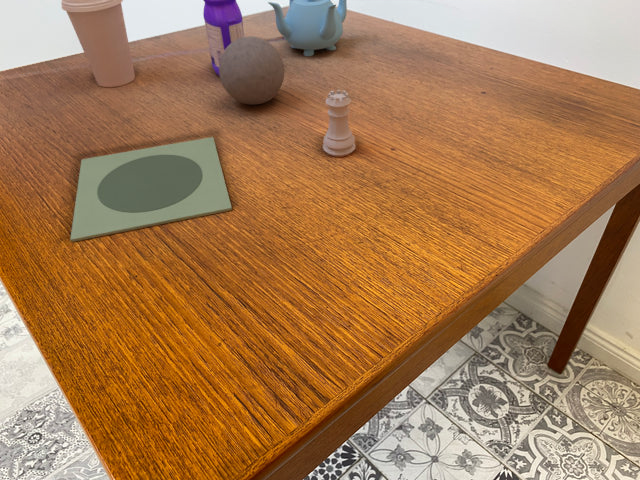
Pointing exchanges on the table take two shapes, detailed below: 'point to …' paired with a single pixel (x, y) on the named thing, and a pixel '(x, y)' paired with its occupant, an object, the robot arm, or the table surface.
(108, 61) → the coffee cup
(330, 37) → the teapot
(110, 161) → the mat
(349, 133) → the rook chess piece
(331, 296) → the table surface
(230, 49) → the decorative ball
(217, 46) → the bottle
